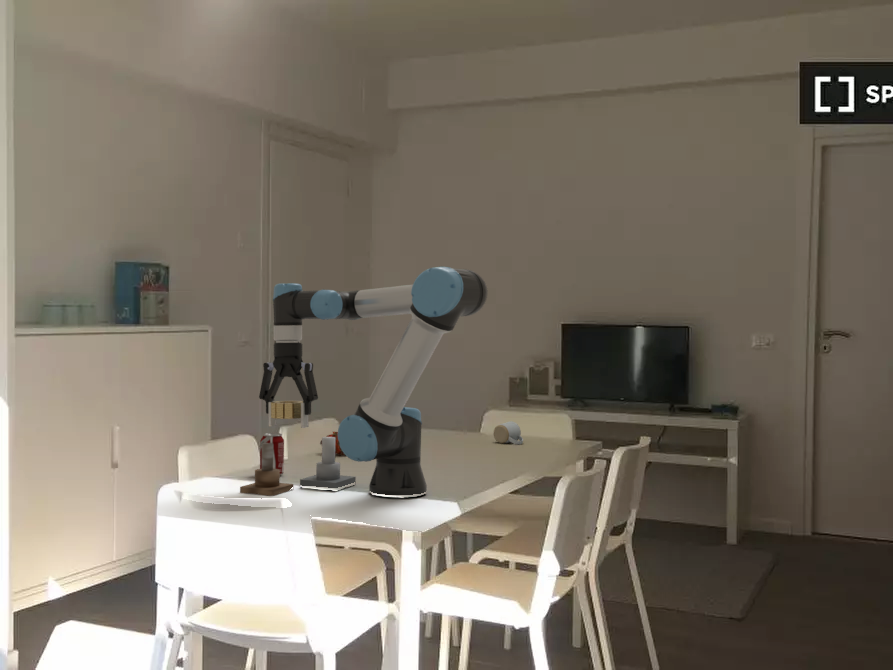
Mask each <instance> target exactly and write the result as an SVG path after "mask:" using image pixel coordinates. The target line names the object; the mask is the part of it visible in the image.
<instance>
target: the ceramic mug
mask: <svg viewBox="0 0 893 670" xmlns="http://www.w3.org/2000/svg"><path fill="white" fill-rule="evenodd" d="M521 431H522V430H521V428H520V426H519V424H518V423H517V422H515V421H507V422H504V423H500V424H498V425H496V426H495V427H494V429H493V438H494V440H495V441H496V442H497V443H499V444H510V443H512V444H514V445H517V446H518V445H519V446H520V445H522V444H523V443H524V438H523V436H521V434H522V432H521Z"/></svg>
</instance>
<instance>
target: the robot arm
mask: <svg viewBox="0 0 893 670" xmlns="http://www.w3.org/2000/svg"><path fill="white" fill-rule="evenodd" d="M487 286H488V285H487V283H486V281H485V280H484V278H483V277H482V276H481V275H480V273H477V272H476V271H474V270H471V269H467V268H452V267H450V266H449V267H448V266H442V265H441V266H436V267H435V266H433V267H429V268H427V269H424V270H423V271H422V272H421V273H420V274H418V276H417V277H416V278H415V280H414V282H413V284H406V285H397V286H388V287H387V286H386V287H380V288H379V287H378V288H368V289H361V290H357V289H356V290H348V291H344V290H343V291H338V290H333V289H318V290H303V286H302V284H300V283H292V282H291V283H276V284H275V285H274V287H273V298H272V303H273V304H272V305H273V307H272V308H273V341H275V342H274V343H273V356H274V357H273V358H274V360H273V361H272V362H263V364H262V365H263V375H262V380H261V384H260V385H261V386H260V391H259V395H258V398H259V399H260V400H262V401H265V412H266V414H267V415H268V428H269V427H276V426H277V419H276V418H271V402H274V401H275V397H276V395H277V392H278V391H279V388H280V386H281V384H282V381H283V380H284V379H285V378H292V380H293V381H294V383H295V385H296V388H297V390H298V391H299V395H301V399H302V401H303V403H301V418H300V428H302V429H305V428H309V425H310V424H309V415H311V414H312V402H314V401H317V400H318V399H319V396H318V391H317V386H316V382H315V377H314V373H313V370H314V363H313V362H304V361H303V343H302V342H301V341H302V340H303V320H349V321H350V320H351V321H355V320H360V319H365V318H376V317H388V316H389V317H390V316H398V315H411V319H410V321H409V322H408V324H407V327H406V329H405V331H404V332H403V334H402V336H401V338H400V340H399V341H398V344H397V345H396V347H395V349H394V351H393V353H392V355H391V357H390V359H389V360H388V362H387V365H386V367H385V368H384V370H383V372H382V374H381V376H380V378H379V380H378V381H377V383H376V385H375V387H374V389H373V390H372V392H371V395H370V396H369V397H366V398H363V399H362V400H361V401H360V402H359V404H358V406H357V408H356V410H355V412H354V414H351V415H347V416H346V417H345V418H344V419H342V420H341V422H340V423H339V425H338V428H337V429H338V430H337V432H338V441H339V443H340V448H341V449H342V451H343V453H344V454H343V455H345V456H346V457H347V458H348V459H350V460H351V461H354V462H358V463H359V462H371V461H374V460H376V462H375V467H374V470H373V473H372V475H371V479H370V482H369V486H368V492H369V491H371V492H373V493H377V494H385V495H413V494H421V493H424V492H426V491H427V490H428V489H427V488H428V487H427V486H428V485H427V482H426V479H425V475H424V472H423V469H422V465H421V456H422V455H421V454H422V453H421V451H422V450H421V449H422V448H421V447H422V425H423V422H422V412H421V410H420V409H418V408H417V407H416V408H415V407H408V406H407V407H406V406H405V405H406V404H407V402H408V400H409V399H410V397H411V395H412V392H413V391H414V390H415V387H416V386H417V383H418V381H419V379H420V378H421V376H422V374H423V373H424V371H425V369H426V367H427V366H428V364H429V362H430V360H431V358H432V356H433V354H434V352H435V350H436V348H437V347H438V345H439V343H440V341H441V339H442V338H443V335H444V334H448V333H451V332H452V331H453V330H454V328H455V326H456V325H457V323H458V321H459V319H460V317H469V316H473V315H475V314H477V313H479V311H481V310H482V309H483V307H484V306H485V304H486V302H487V299H488V287H487ZM274 369H275V374H274V375H273V370H274ZM301 370H303V371H304V372H303V373H304V378H305V381H304V379H303V374H302V372H301ZM272 376H273V380H272ZM271 382H272V383H271ZM427 492H428V491H427Z"/></svg>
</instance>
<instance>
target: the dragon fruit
mask: <svg viewBox="0 0 893 670" xmlns="http://www.w3.org/2000/svg"><path fill="white" fill-rule="evenodd" d="M325 437H335V455H336V454H337V455H338V456H344V455H345V454H344V453H343V451H342V449H341V448H340V443H339V441H338V431H332V433H331V434H328V435H326V436H325ZM319 444H320V446H322V439H321V440H320V443H319Z"/></svg>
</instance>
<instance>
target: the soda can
mask: <svg viewBox="0 0 893 670" xmlns="http://www.w3.org/2000/svg"><path fill="white" fill-rule="evenodd" d="M282 435H283V434H282V433H279V432H278V433H277V432H266V433H262V437H261V439H260V441H259V442H260V443H259V444H260V445H259V446H260V447H259V469H262V444H263V443H273V469H279V470H280V475H284V472H285V471H284V470H285V468H284V465H285V439H284V437H283V436H282Z"/></svg>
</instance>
